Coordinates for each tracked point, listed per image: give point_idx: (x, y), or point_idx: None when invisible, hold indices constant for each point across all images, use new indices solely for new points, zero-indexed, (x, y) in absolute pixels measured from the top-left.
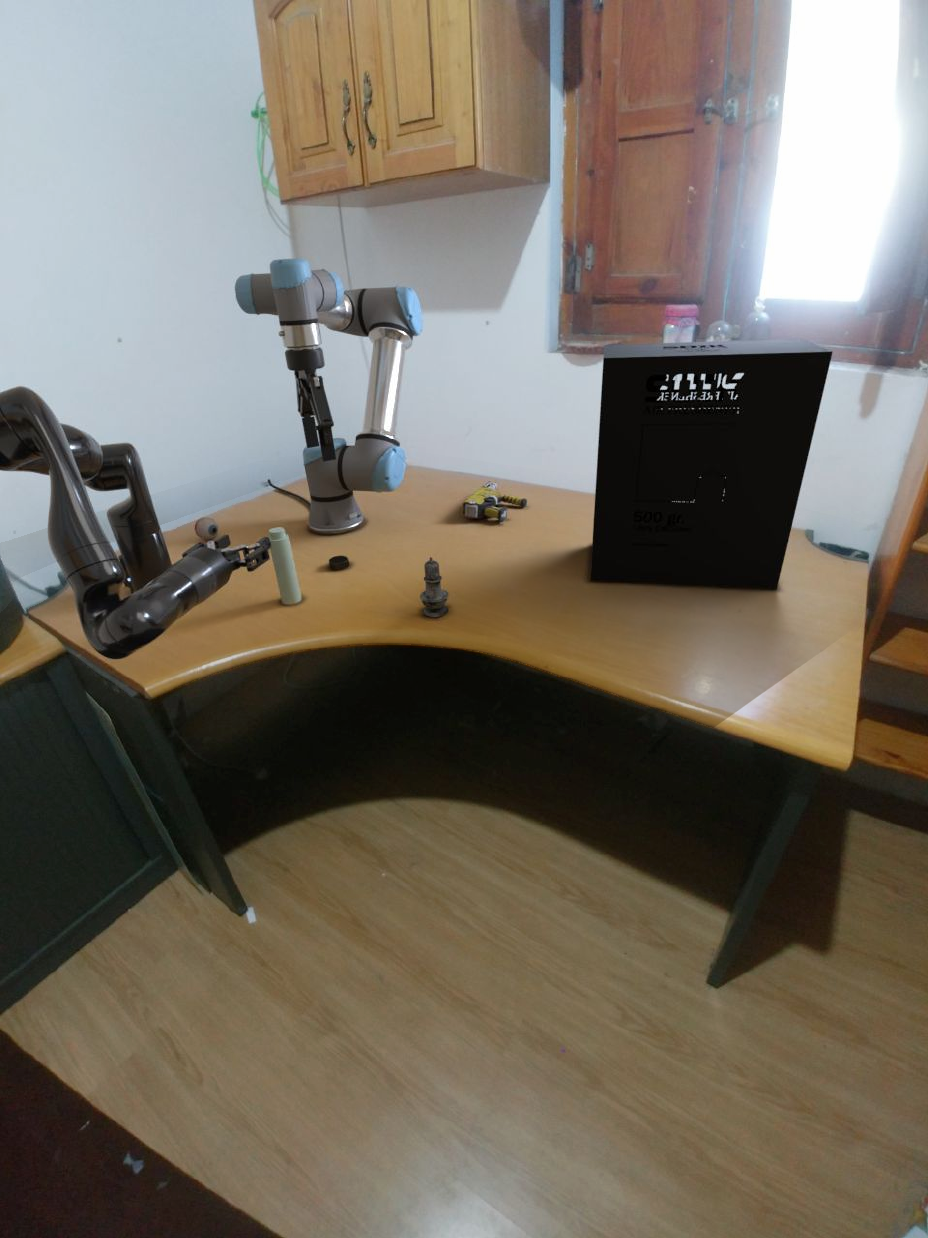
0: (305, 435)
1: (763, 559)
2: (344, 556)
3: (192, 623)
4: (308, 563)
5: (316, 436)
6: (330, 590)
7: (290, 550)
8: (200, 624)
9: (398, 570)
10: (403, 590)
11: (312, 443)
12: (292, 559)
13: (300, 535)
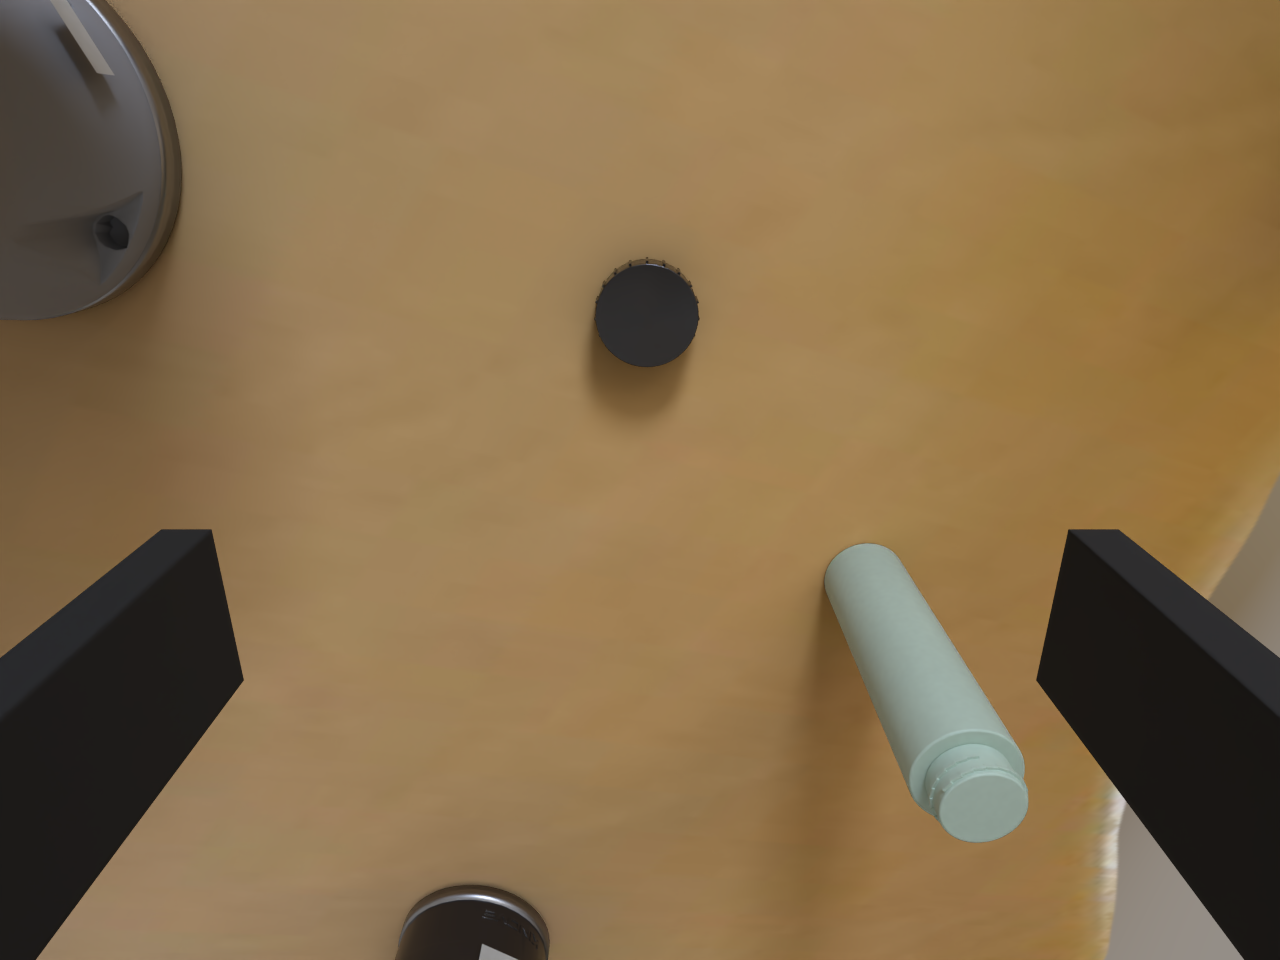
0: (146, 809)
1: None
2: (627, 275)
3: (813, 869)
4: (523, 433)
5: (128, 625)
6: (879, 421)
7: (974, 685)
8: (837, 851)
9: (890, 30)
10: (1124, 106)
11: (204, 644)
12: (953, 654)
13: (107, 379)
